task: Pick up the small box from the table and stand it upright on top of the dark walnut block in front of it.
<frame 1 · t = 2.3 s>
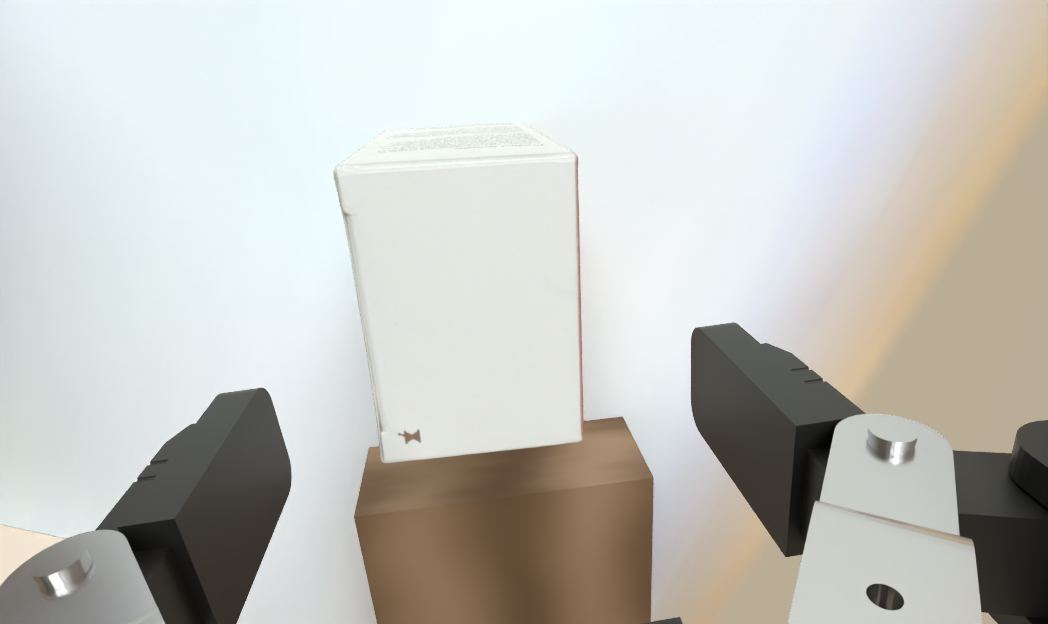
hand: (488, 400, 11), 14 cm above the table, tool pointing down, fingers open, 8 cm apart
small box: (463, 224, 24), on the table
walnut block: (507, 527, 31), on the table
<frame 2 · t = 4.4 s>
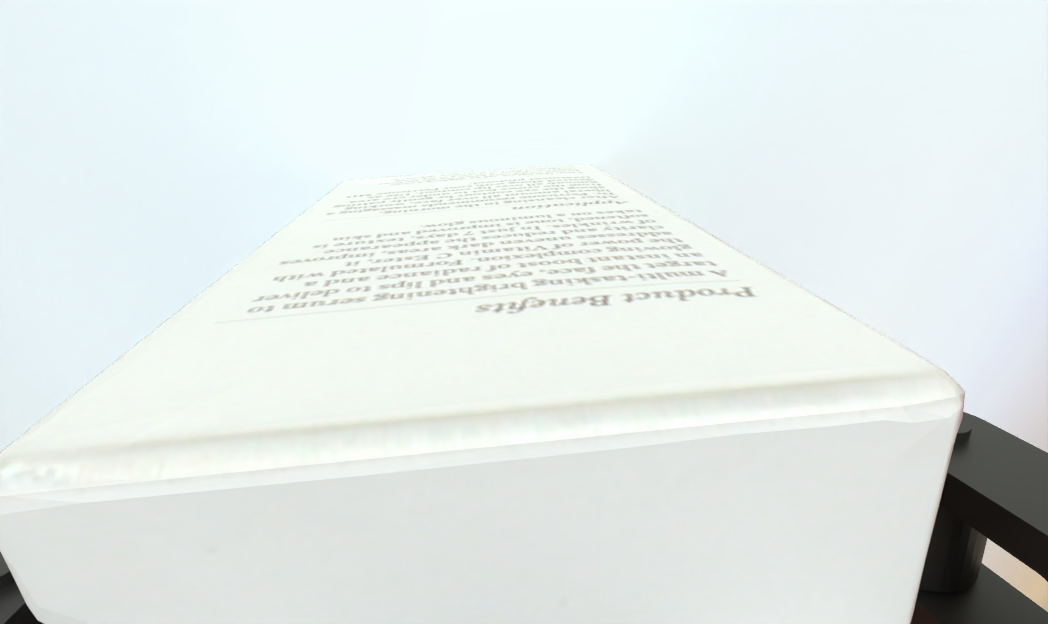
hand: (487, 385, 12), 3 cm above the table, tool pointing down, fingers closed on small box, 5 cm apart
small box: (482, 331, 14), on the table, touching gripper
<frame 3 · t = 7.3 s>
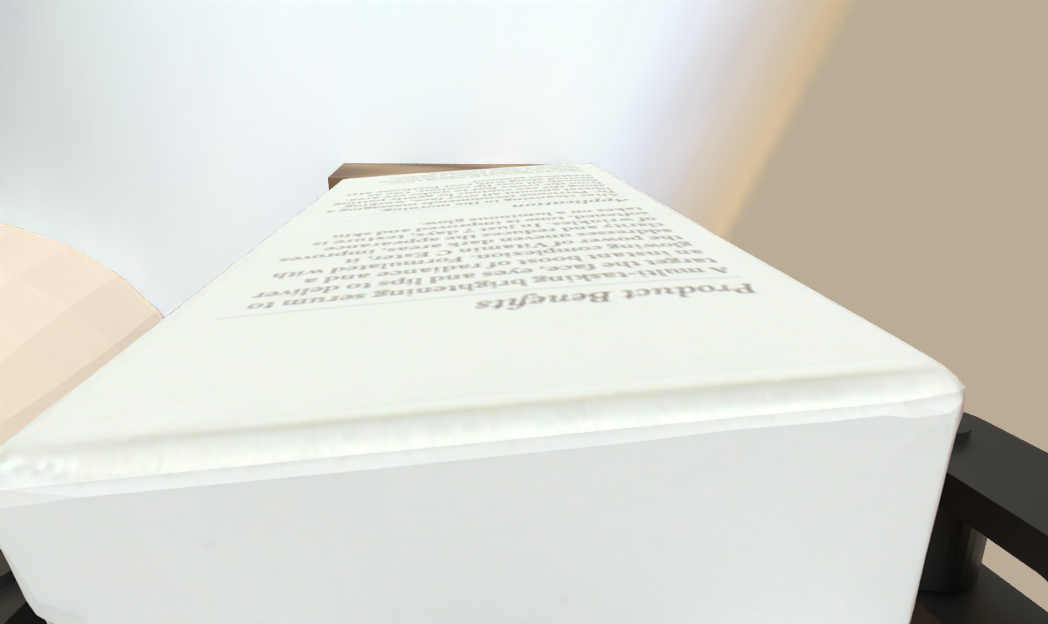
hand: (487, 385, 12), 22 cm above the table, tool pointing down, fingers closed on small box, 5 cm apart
small box: (482, 330, 14), point 19 cm above the table, touching gripper
walnut block: (460, 268, 34), on the table
kettle: (14, 388, 34), on the table
when the fingers open (9 cm above the table, at t = 10.6 s): small box drops 2 cm, resting on walnut block.
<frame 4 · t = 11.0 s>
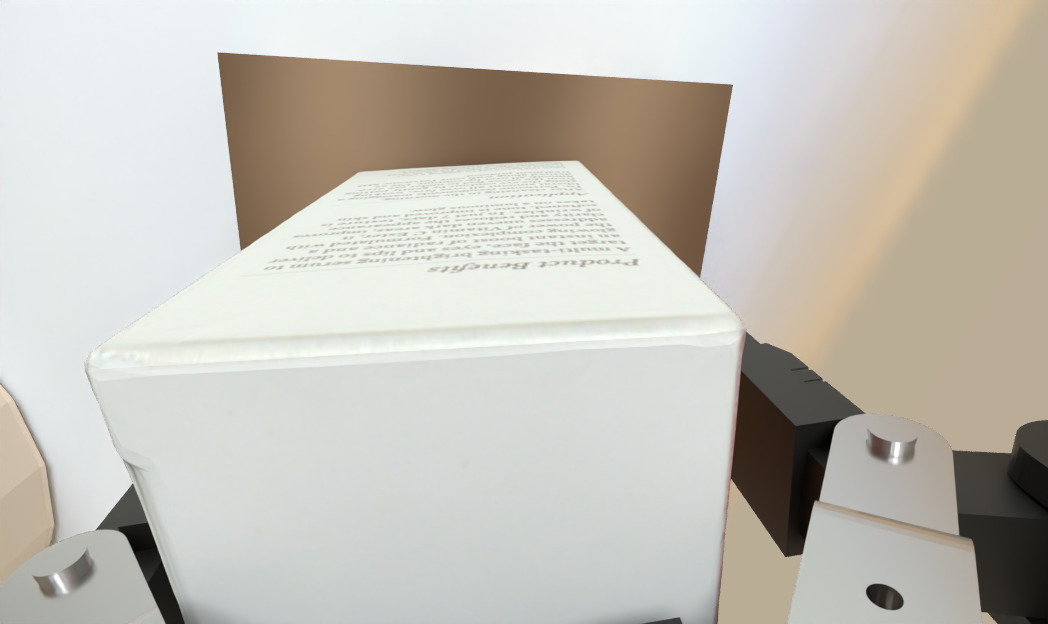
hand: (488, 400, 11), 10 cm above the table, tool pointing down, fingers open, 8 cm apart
small box: (481, 309, 16), point 4 cm above the table, touching walnut block
walnut block: (475, 257, 21), on the table, touching small box
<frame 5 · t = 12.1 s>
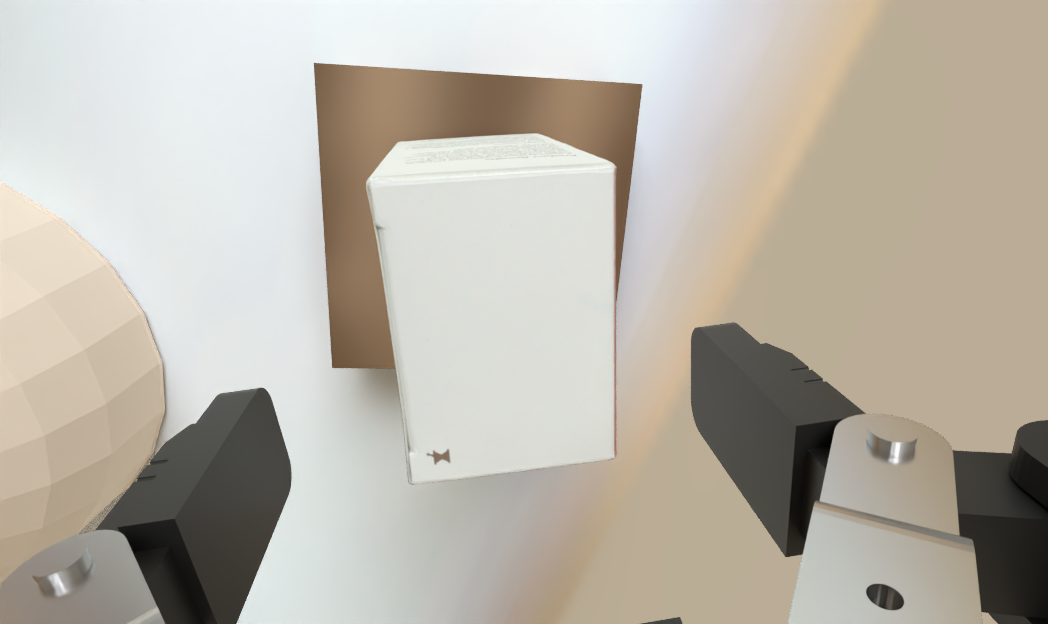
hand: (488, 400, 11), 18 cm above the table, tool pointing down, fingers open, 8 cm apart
small box: (476, 236, 24), point 4 cm above the table, touching walnut block
walnut block: (475, 210, 29), on the table, touching small box
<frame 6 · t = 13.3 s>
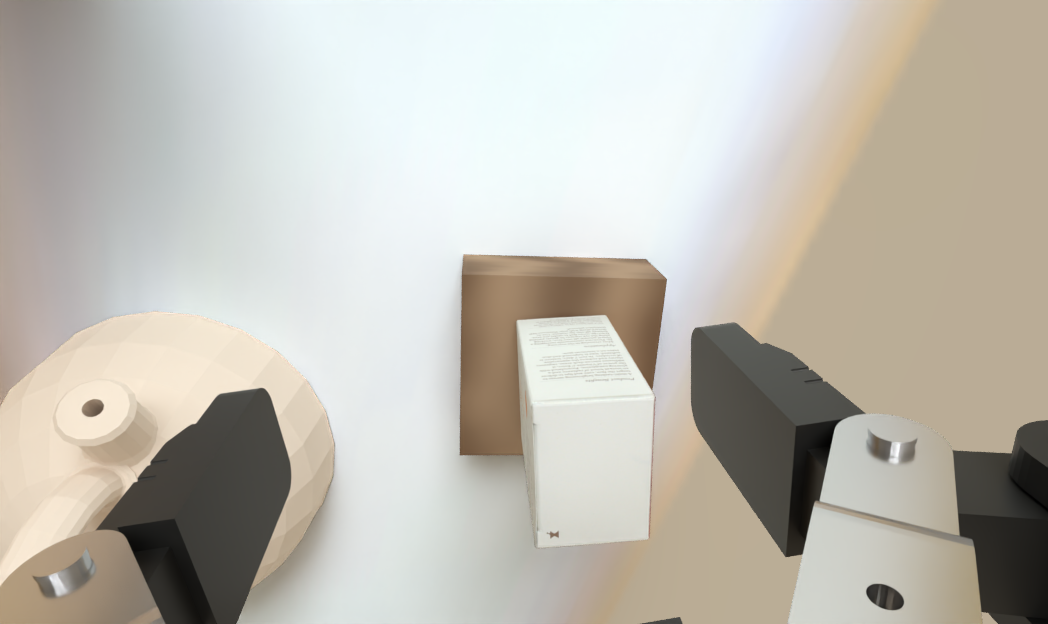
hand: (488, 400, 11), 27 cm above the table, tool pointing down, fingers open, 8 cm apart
small box: (561, 373, 37), point 4 cm above the table, touching walnut block
walnut block: (549, 339, 41), on the table, touching small box
kettle: (188, 443, 42), on the table
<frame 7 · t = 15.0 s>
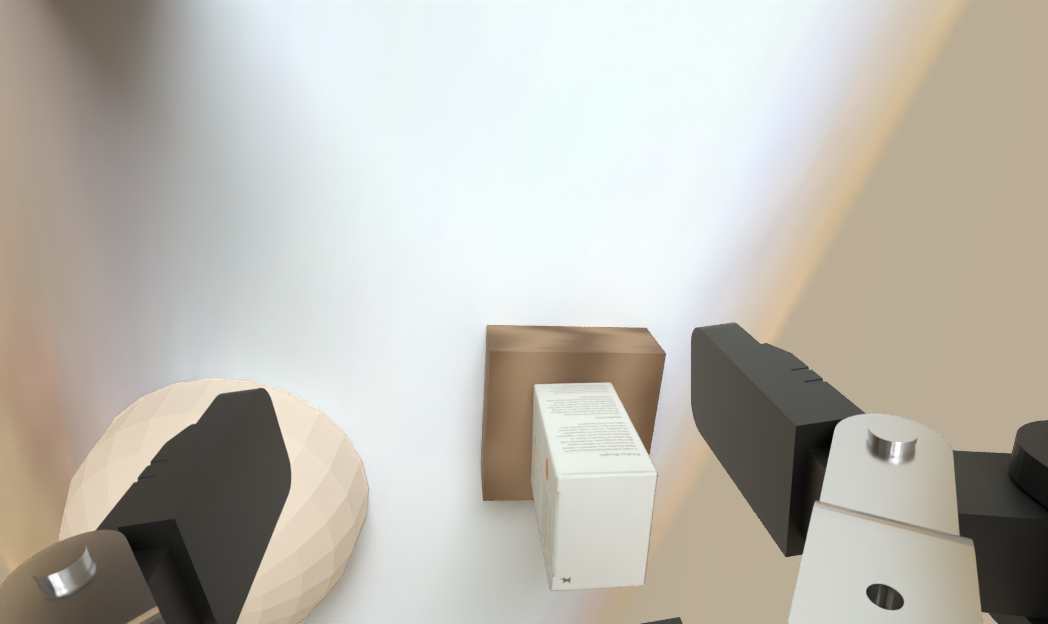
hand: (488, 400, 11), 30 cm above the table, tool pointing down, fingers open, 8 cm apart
small box: (569, 429, 42), point 4 cm above the table, touching walnut block
walnut block: (560, 394, 47), on the table, touching small box
kettle: (237, 489, 46), on the table
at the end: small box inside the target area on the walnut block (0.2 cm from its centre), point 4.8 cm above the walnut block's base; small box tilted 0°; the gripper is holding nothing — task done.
